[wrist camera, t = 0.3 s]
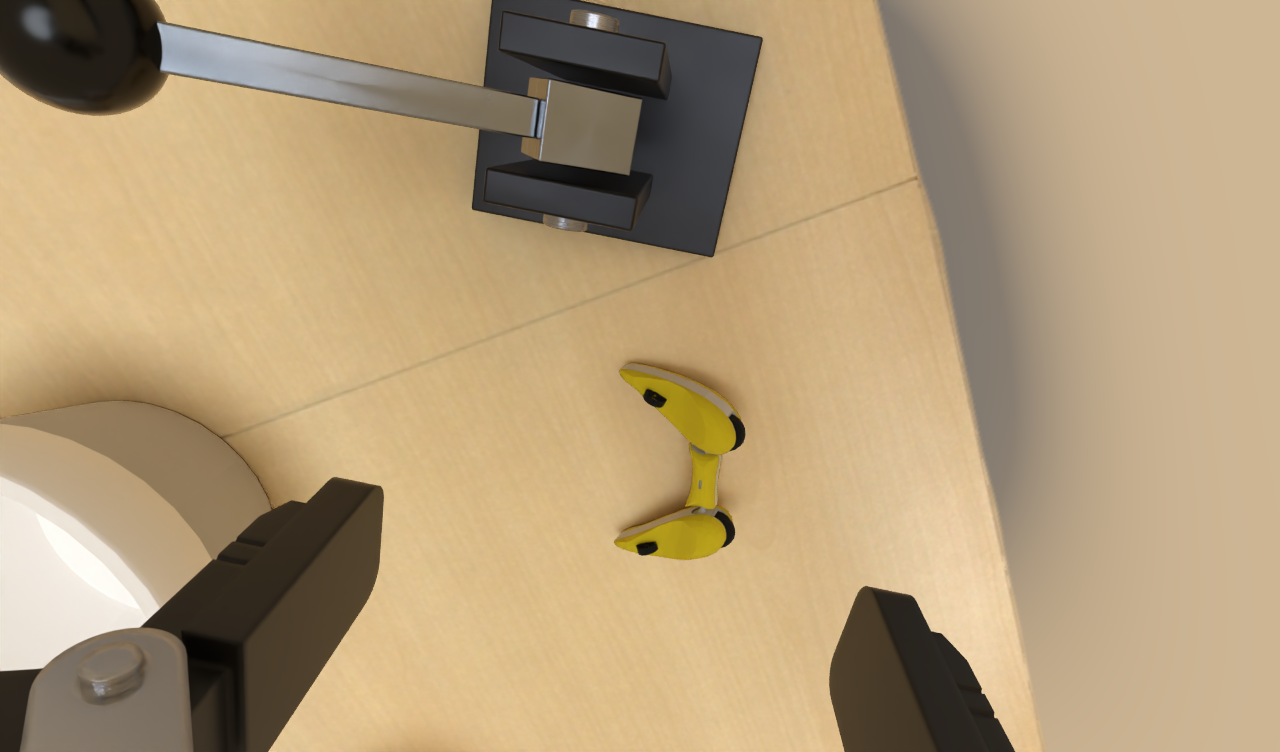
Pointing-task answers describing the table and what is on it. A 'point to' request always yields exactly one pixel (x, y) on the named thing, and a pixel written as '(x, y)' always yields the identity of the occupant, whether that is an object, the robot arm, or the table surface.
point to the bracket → (667, 130)
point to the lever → (289, 79)
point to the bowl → (108, 520)
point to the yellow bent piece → (710, 436)
